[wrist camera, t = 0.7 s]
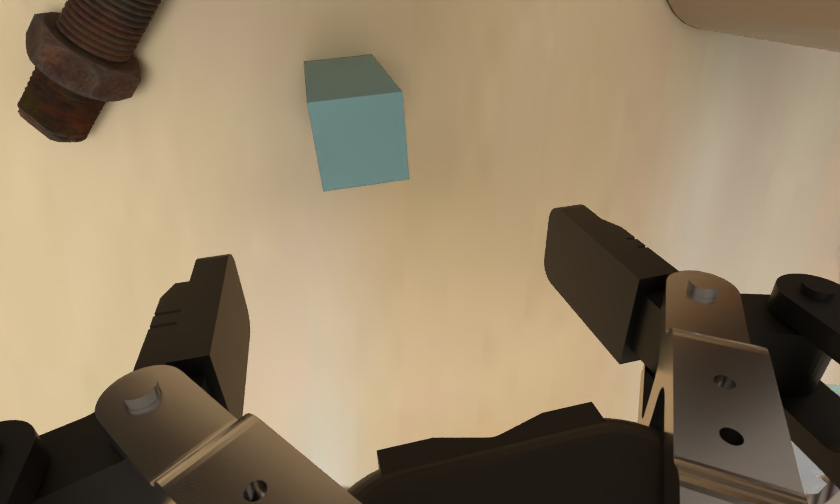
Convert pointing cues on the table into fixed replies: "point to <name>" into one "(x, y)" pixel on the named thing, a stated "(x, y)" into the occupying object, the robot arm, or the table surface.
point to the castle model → (811, 464)
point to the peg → (356, 122)
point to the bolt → (82, 63)
